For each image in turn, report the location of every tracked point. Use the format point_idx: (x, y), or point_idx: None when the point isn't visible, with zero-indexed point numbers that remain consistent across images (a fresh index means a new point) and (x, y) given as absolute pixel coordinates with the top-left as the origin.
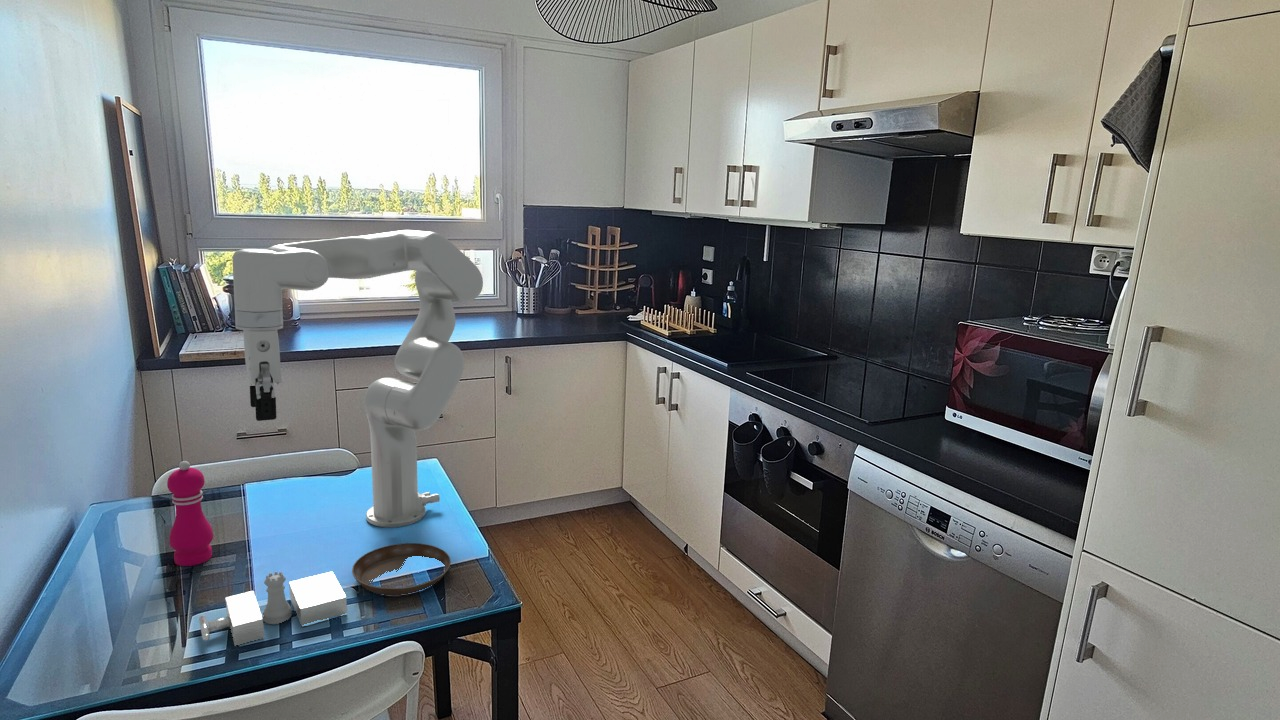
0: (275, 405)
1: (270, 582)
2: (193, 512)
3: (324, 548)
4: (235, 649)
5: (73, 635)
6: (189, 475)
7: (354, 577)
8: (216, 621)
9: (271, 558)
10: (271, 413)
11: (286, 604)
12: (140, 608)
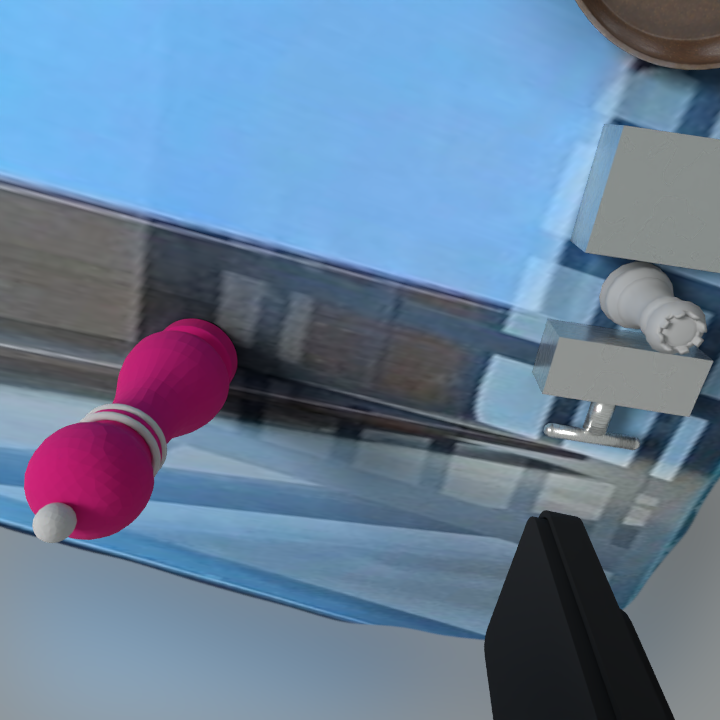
0: (630, 644)
1: (690, 346)
2: (171, 420)
3: (334, 44)
4: None
5: (402, 569)
6: (113, 501)
7: (683, 69)
8: (607, 422)
9: (306, 204)
10: (625, 619)
11: (665, 285)
12: (375, 481)
